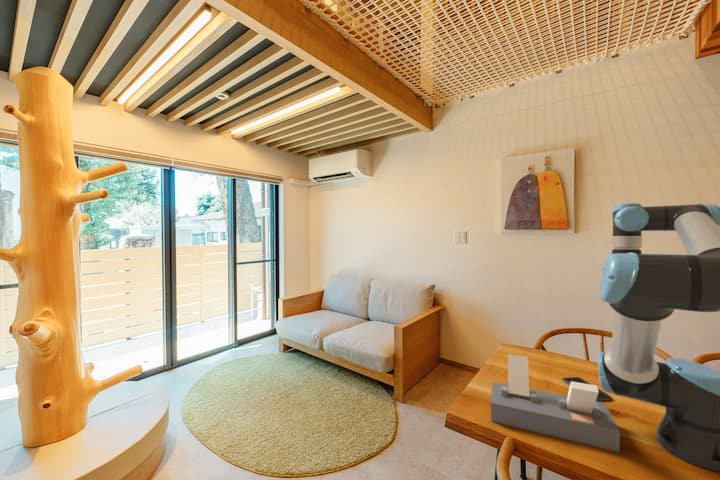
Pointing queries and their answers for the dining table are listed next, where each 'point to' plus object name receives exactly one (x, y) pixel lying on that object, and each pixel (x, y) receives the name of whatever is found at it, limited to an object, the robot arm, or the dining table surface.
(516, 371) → the lever
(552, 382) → the dining table surface
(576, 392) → the lever
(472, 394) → the dining table surface
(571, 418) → the switch unit
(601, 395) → the phone
